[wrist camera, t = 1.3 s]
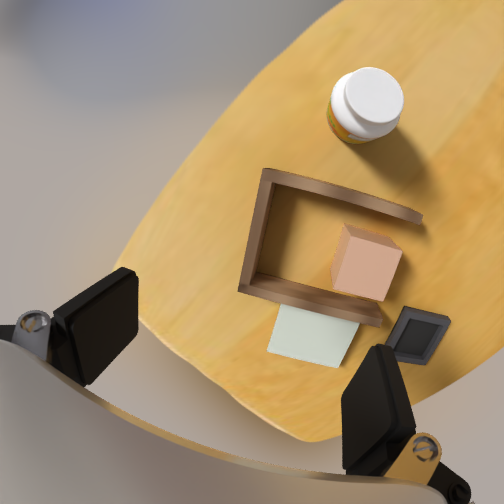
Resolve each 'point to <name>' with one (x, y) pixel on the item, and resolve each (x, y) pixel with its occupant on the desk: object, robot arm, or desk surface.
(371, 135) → the supplement bottle
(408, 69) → the desk surface
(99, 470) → the robot arm
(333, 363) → the sage tile
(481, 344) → the desk surface
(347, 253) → the terracotta cube
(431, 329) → the dark gray rectangular tray
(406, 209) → the wooden tray frame
